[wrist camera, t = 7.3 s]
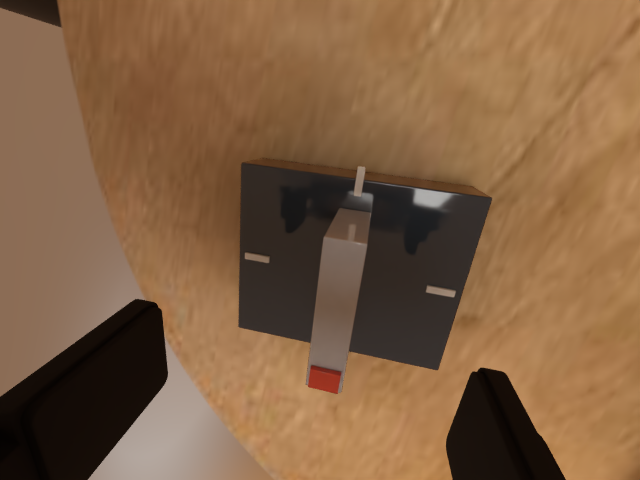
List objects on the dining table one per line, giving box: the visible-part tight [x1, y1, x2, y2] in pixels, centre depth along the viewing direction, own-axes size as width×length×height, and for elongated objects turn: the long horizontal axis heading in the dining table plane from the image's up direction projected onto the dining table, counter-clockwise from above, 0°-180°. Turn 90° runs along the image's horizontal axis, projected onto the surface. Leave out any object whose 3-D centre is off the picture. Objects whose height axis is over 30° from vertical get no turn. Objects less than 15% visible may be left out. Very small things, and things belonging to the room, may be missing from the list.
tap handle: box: [306, 208, 371, 394], centre depth 14 cm, size 7×2×5 cm, turn 174°
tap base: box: [238, 158, 492, 370], centre depth 18 cm, size 12×11×3 cm
